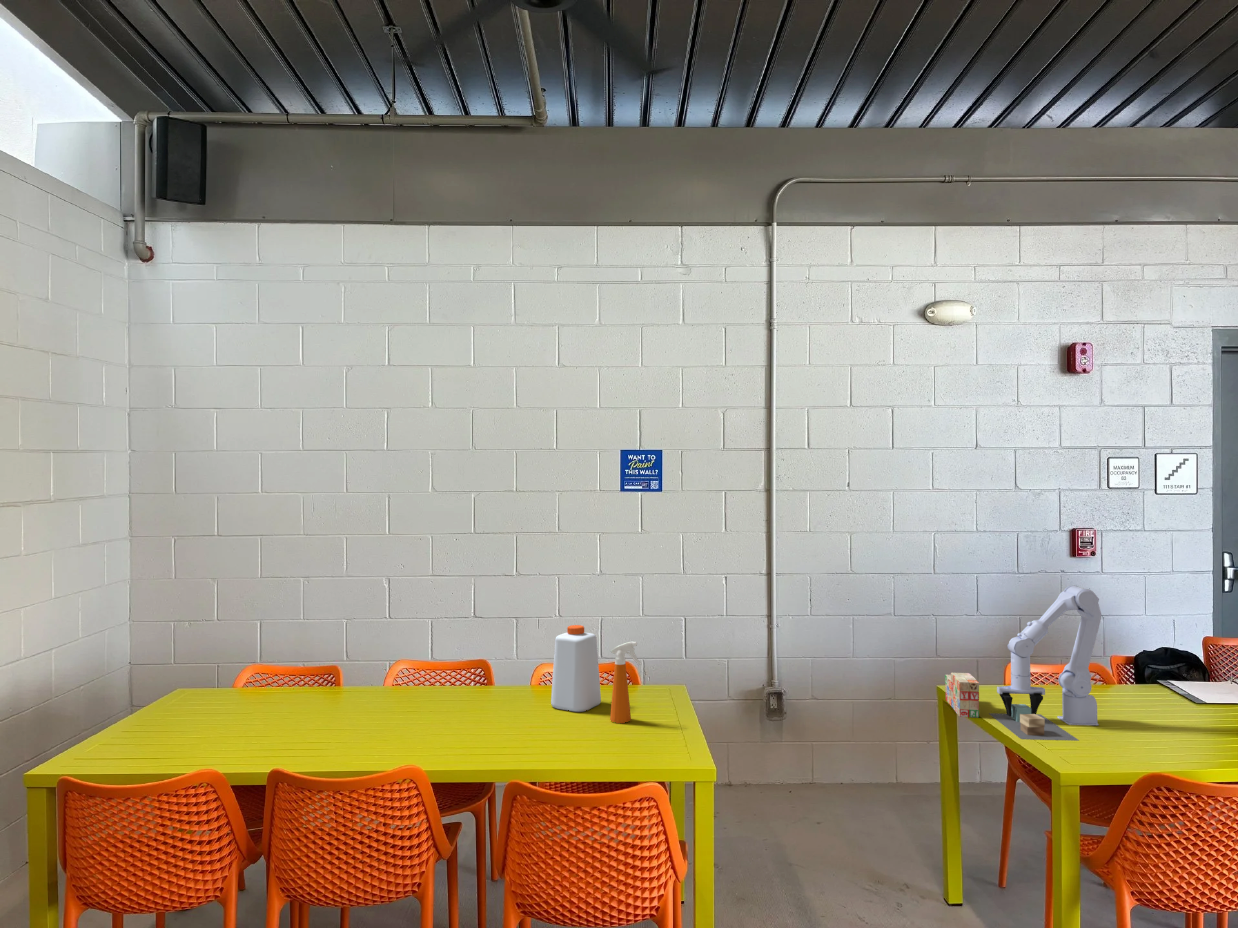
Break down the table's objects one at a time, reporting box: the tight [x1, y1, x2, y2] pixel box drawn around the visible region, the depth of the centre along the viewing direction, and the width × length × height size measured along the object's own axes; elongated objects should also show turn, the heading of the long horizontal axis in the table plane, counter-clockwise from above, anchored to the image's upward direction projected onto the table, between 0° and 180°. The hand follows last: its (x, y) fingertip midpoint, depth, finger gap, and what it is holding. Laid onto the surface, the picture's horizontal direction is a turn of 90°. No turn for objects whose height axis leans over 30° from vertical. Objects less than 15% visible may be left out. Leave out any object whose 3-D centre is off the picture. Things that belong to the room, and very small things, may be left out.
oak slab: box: [1020, 713, 1045, 727], centre depth 245 cm, size 5×5×2 cm
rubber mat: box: [988, 712, 1080, 742], centre depth 251 cm, size 17×26×1 cm, turn 175°
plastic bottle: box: [550, 624, 602, 713], centre depth 278 cm, size 15×15×28 cm
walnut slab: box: [1021, 723, 1044, 735], centre depth 245 cm, size 5×5×2 cm
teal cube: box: [1011, 703, 1031, 722], centre depth 258 cm, size 4×4×4 cm
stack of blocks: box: [944, 672, 980, 718], centre depth 271 cm, size 21×6×12 cm, turn 170°
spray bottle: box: [609, 641, 642, 724], centre depth 260 cm, size 7×11×26 cm, turn 78°
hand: (1021, 715), depth 258 cm, fingers open, 7 cm apart
